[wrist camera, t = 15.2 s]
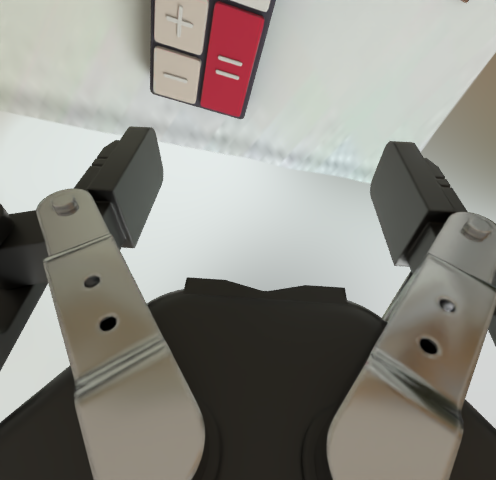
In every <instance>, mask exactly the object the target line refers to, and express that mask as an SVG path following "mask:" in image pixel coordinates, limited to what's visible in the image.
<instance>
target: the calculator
mask: <svg viewBox="0 0 496 480" xmlns="http://www.w3.org/2000/svg"><path fill="white" fill-rule="evenodd" d="M275 1H276V0H151V66H150V90H151V92H152V93H153V94H155V95H158V96H162V97H165V98H169V99H172V100H176V101H179V102H183V103H186V104H190V105H193V106H196V107H200V108H203V109H207V110H210V111H214V112H217V113H221V114H224V115H228V116H231V117H235V118H238V119H243V118H244V116H245V112H246V109H247V105H248V101H249V98H250V94H251V90H252V86H253V83H254V79H255V75H256V72H257V68H258V64H259V60H260V57H261V53H262V49H263V46H264V42H265V38H266V34H267V31H268V27H269V23H270V20H271V16H272V12H273V8H274V5H275Z"/></svg>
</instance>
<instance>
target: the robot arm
mask: <svg viewBox="0 0 496 480" xmlns="http://www.w3.org/2000/svg"><path fill="white" fill-rule="evenodd" d="M162 181H163V166H162V162H161V157H160V152H159V147H158V142H157V137H156V133H155V131H154V129H153V128H150V127H129V128H128V129H127V131H126V132H125V134H124V135H123V137H122V138H121V140H120V141H119V140H115V141H114V142H112V143H111V144H109V145H108V146H106V147H104V148H103V150H102V151H101V152H100V154H99V155H98V157H97V159H95V160H94V162H93V163H92V166H90V167H89V169H88V170H87V171H86V173H85V174H84V175H83V177H82V178H81V179H80V181H79V182H78V183H77V185H76V186H75V187H74V189H65V190H61V191H58V192H55V193H53V194H51V195H49V196H47V197H46V198H44V199H43V200H42V201H41V202H40V203H39V205H38V207H37V209H36V210H35V211H28V212H22V213H15V214H8V213H7V212H6V210H5V209H4V208H3V207H2V205H1V204H0V370H1V369H2V367H3V365H4V363H5V361H6V359H7V358H8V356H9V354H10V352H11V350H12V348H13V346H14V345H15V343H16V341H17V339H18V337H19V335H20V334H21V331H22V330H23V328H24V326H25V324H26V323H27V321H28V319H29V317H30V315H31V313H32V311H33V310H34V308H35V306H36V304H37V302H38V301H39V299H40V297H41V295H42V293H43V291H44V289H45V288H46V286H47V284H48V283H49V287H50V291H51V294H52V298H53V302H54V306H55V309H56V312H57V317H58V321H59V324H60V328H61V332H62V335H63V339H64V343H65V346H66V350H67V354H68V358H69V361H70V366H69V367H68V368H66V370H64V371H63V372H62V373H60V374H59V375H58V376H57V377H56V378H54V379H53V380H52V381H51V382H49V383H48V384H47V385H46V386H45V387H44V388H42V389H41V390H40V391H39V392H37V393H36V394H35V395H34V396H32V397H31V398H30V399H29V400H27V401H26V402H25V403H24V404H22V405H21V406H20V407H19V408H18V409H16V410H15V411H14V412H13V413H11V414H10V415H9V416H8V417H7V418H5V419H4V420H3V421H2V422H1V423H0V480H496V429H495V428H494V427H493V426H492V425H491V424H490V423H489V422H488V421H487V420H486V419H485V418H484V417H483V416H482V415H481V414H480V413H479V412H477V410H476V409H475V408H473V406H472V405H470V403H468V402H467V401H466V400H465V397H466V394H467V391H468V388H469V385H470V382H471V379H472V376H473V373H474V370H475V367H476V364H477V361H478V358H479V355H480V352H481V349H482V346H483V342H484V340H485V337H486V334H487V331H488V330H489V333H490V335H491V337H492V339H493V341H494V343H495V346H496V224H495V223H494V222H493V221H491V220H489V219H488V218H486V217H483V216H481V215H478V214H474V213H470V212H467V210H466V209H465V207H464V206H463V204H462V203H461V201H460V200H459V198H458V196H457V195H456V193H455V192H454V190H453V189H452V188H450V184H449V183H448V181H447V180H446V179H445V176H444V175H443V173H442V172H441V171H440V169H439V167H437V166H436V165H435V164H434V163H432V162H431V161H430V160H428V159H427V158H423V156H422V155H421V153H420V151H419V150H418V148H417V146H416V145H415V143H412V142H395V141H390V142H388V144H387V145H386V147H385V149H384V151H383V154H382V156H381V159H380V161H379V164H378V166H377V169H376V171H375V174H374V176H373V179H372V182H371V188H370V194H371V199H372V201H373V204H374V207H375V210H376V213H377V216H378V219H379V222H380V225H381V228H382V231H383V234H384V236H385V239H386V242H387V245H388V248H389V251H390V254H391V257H392V260H393V263H394V265H395V266H407V267H410V269H411V272H410V273H409V275H408V276H407V278H406V279H405V281H404V283H403V284H402V286H401V288H400V289H399V291H398V292H397V294H396V296H395V297H394V299H393V301H392V303H391V304H390V306H389V307H388V309H387V310H386V312H385V314H384V315H383V317H382V318H381V317H379V316H378V315H376V314H375V313H373V312H372V311H370V310H368V309H366V308H365V307H363V306H360V305H358V304H356V303H353V302H351V301H348V300H347V298H346V293H345V288H338V287H323V286H307V285H304V286H298V287H292V288H286V289H279V290H274V291H261V290H257V289H254V288H251V287H247V286H244V285H240V284H237V283H234V282H230V281H227V280H216V279H202V278H187V280H186V284H185V288H184V289H183V290H177V291H174V292H170V293H167V294H165V295H162V296H160V297H158V298H156V299H154V300H152V301H150V302H149V303H147V304H146V302H145V300H144V298H143V296H142V294H141V292H140V290H139V288H138V286H137V284H136V282H135V280H134V278H133V276H132V274H131V272H130V270H129V268H128V266H127V264H126V262H125V260H124V258H123V256H122V254H121V252H120V249H121V247H124V248H126V247H127V248H135V246H136V244H137V241H138V239H139V237H140V234H141V232H142V229H143V227H144V225H145V223H146V220H147V218H148V215H149V213H150V211H151V208H152V206H153V204H154V201H155V199H156V197H157V194H158V192H159V189H160V187H161V185H162Z"/></svg>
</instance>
